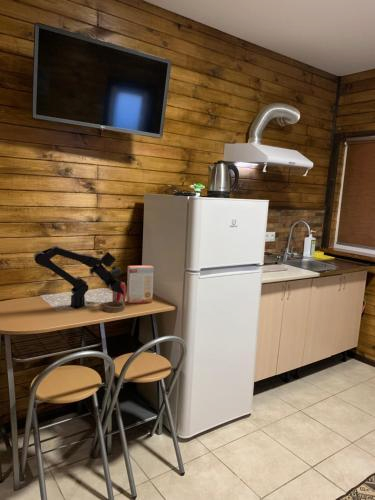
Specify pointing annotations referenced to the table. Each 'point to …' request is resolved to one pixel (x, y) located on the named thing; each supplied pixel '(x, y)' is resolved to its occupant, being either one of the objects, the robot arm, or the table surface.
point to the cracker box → (140, 284)
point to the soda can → (118, 296)
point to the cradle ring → (118, 308)
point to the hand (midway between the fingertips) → (121, 291)
